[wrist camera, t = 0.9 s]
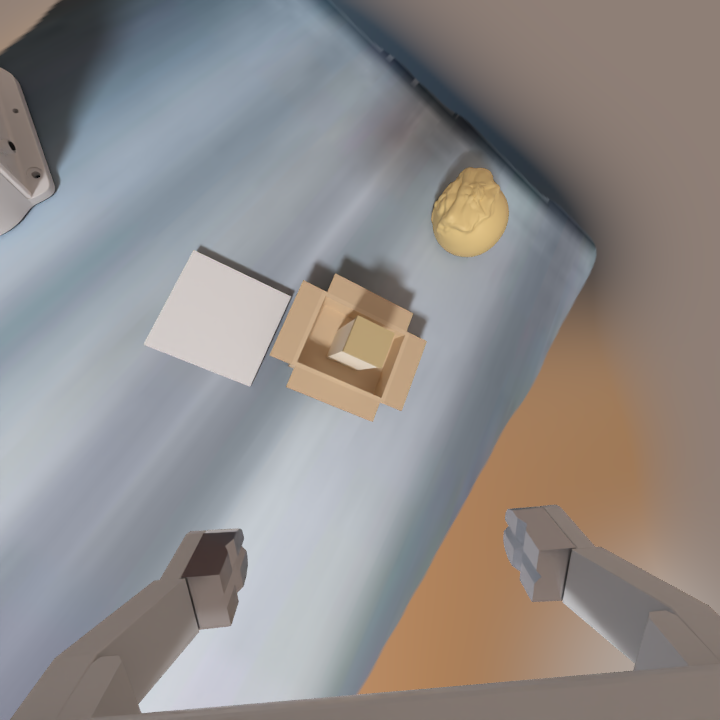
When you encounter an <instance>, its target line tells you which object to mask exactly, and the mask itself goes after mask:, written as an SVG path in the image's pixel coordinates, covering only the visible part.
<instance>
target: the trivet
mask: <svg viewBox="0 0 720 720" xmlns="http://www.w3.org/2000/svg"><path fill="white" fill-rule="evenodd" d="M290 298H291V296H289V295H287V294H285V293H283V292H281V291H278V290H276V289H274V288H272V287H270V286H268V285H266V284H264V283H262V282H260V281H257V280H255V279H253V278H251V277H249V276H247V275H245V274H243V273H241V272H239V271H237V270H234V269H232V268H230V267H228V266H226V265H224V264H222V263H220V262H218V261H216V260H214V259H211V258H209V257H207V256H205V255H203V254H201V253H199V252H197V251H195V250H193V252H192V254H191V256H190V258H189V260H188V262H187V263H186V265H185V267H184V269H183V271H182V273H181V275H180V277H179V279H178V280H177V282H176V284H175V286H174V288H173V290H172V292H171V294H170V295H169V297H168V299H167V301H166V303H165V305H164V307H163V309H162V311H161V312H160V314H159V316H158V318H157V320H156V322H155V324H154V326H153V328H152V329H151V331H150V333H149V335H148V337H147V339H146V341H145V343H144V345H146V346H148V347H151V348H154V349H156V350H159V351H161V352H164V353H166V354H169V355H171V356H174V357H176V358H179V359H181V360H184V361H187V362H189V363H192V364H194V365H197V366H199V367H202V368H204V369H207V370H209V371H212V372H214V373H217V374H220V375H222V376H225V377H227V378H230V379H232V380H235V381H237V382H240V383H242V384H245V385H247V386H251V384H252V382H253V380H254V377H255V375H256V373H257V371H258V369H259V366H260V364H261V362H262V360H263V358H264V355H265V353H266V351H267V349H268V347H269V344H270V342H271V340H272V338H273V336H274V333H275V331H276V329H277V327H278V325H279V322H280V320H281V318H282V316H283V314H284V311H285V309H286V307H287V305H288V303H289V300H290Z"/></svg>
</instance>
